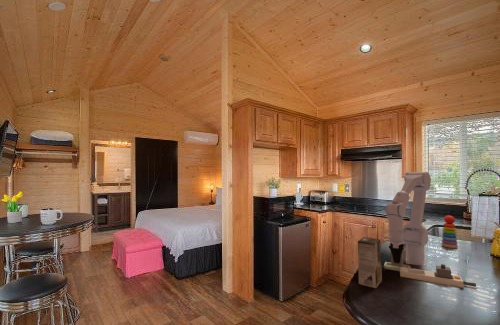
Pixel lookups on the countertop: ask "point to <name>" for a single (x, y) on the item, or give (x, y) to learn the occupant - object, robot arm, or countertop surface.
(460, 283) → the power strip
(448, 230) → the stacking toy
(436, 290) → the countertop surface
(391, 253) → the plug
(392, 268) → the tray
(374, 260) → the coffee box
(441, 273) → the seated twin plug
